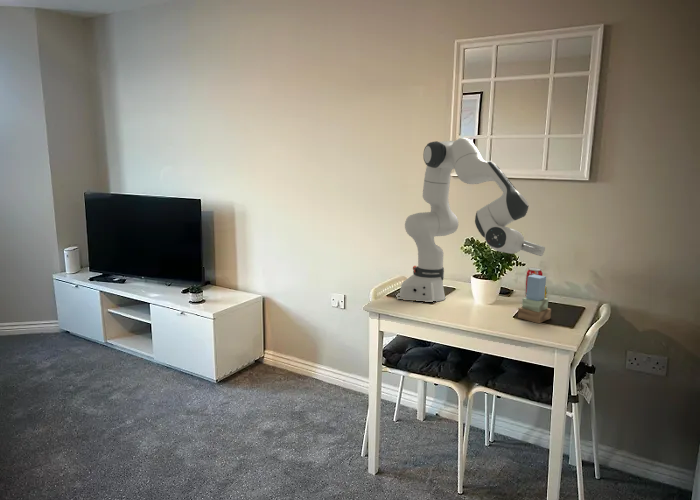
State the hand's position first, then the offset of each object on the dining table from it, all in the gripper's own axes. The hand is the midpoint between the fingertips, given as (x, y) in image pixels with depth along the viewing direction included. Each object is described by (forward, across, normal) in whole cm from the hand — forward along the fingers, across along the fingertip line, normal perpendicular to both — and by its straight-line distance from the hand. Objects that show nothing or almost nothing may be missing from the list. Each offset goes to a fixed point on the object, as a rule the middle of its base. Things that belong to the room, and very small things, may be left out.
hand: (522, 244), depth 191 cm
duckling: (+26, -8, +24) cm, 36 cm away
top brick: (+10, -9, +19) cm, 23 cm away
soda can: (+47, +2, +22) cm, 52 cm away
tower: (+12, -11, +26) cm, 31 cm away
